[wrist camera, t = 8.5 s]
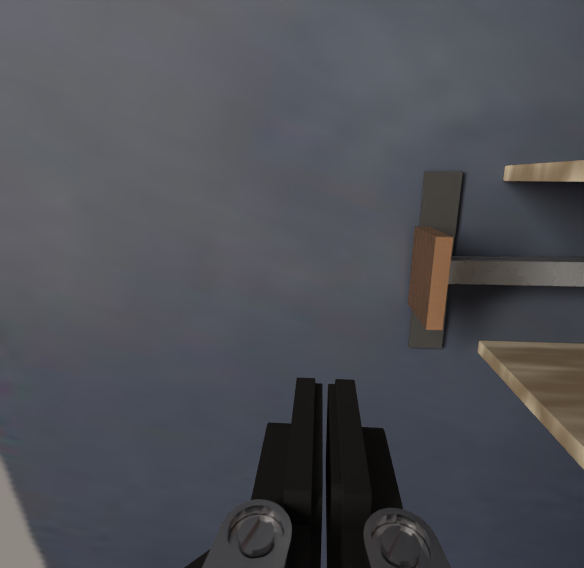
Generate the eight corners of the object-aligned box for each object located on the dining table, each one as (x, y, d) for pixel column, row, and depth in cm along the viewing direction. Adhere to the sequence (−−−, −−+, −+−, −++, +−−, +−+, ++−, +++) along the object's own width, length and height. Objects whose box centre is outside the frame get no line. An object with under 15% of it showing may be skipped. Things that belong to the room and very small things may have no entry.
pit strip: (424, 171, 31) (425, 171, 31) (461, 171, 31) (462, 171, 31) (408, 345, 35) (409, 347, 35) (440, 346, 35) (441, 348, 35)
